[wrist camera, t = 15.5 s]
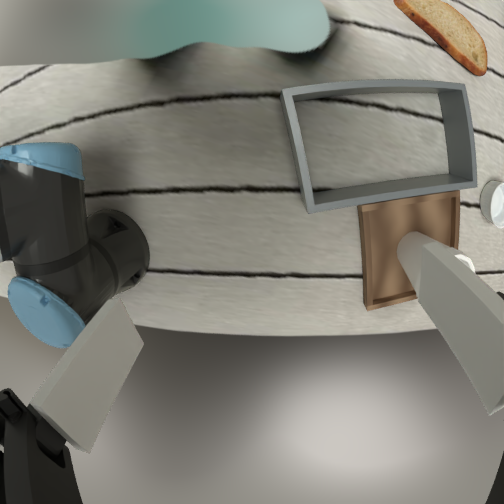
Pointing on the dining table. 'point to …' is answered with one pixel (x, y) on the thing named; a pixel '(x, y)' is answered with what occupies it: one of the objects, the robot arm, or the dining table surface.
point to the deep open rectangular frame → (458, 178)
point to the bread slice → (448, 31)
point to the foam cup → (412, 256)
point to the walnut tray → (390, 234)
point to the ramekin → (493, 203)
